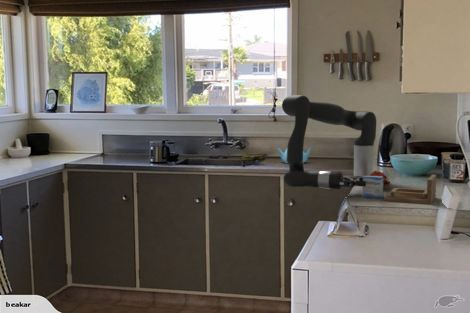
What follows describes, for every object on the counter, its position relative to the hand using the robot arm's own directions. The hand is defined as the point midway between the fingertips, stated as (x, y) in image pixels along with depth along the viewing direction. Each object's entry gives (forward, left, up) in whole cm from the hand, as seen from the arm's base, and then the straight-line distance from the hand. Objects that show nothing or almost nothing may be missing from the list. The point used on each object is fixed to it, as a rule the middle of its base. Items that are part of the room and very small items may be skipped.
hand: (368, 182), depth 252 cm
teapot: (-88, -64, -6) cm, 109 cm away
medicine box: (0, +2, -6) cm, 7 cm away
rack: (0, +17, -6) cm, 18 cm away
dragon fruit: (-20, 0, -6) cm, 21 cm away
